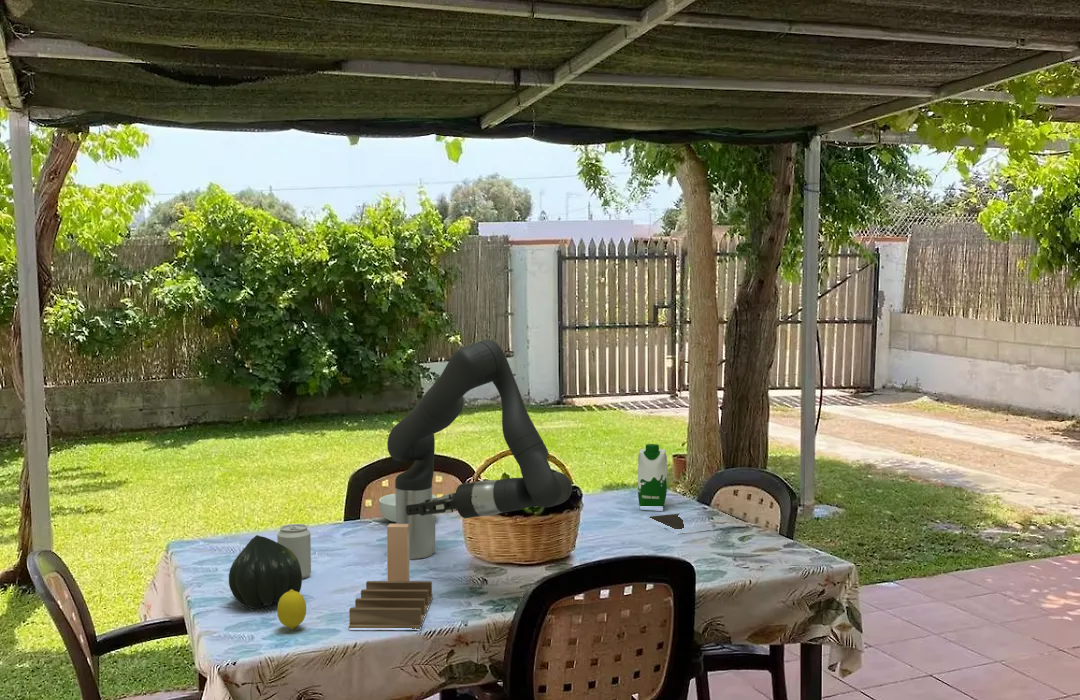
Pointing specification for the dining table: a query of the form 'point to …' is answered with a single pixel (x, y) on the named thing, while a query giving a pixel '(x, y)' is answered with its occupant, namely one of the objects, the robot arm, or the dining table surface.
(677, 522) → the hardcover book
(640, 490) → the milk carton
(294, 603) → the lemon
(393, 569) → the clay bar
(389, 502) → the cereal bowl
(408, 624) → the drying rack
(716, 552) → the dining table surface
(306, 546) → the can
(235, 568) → the squash
